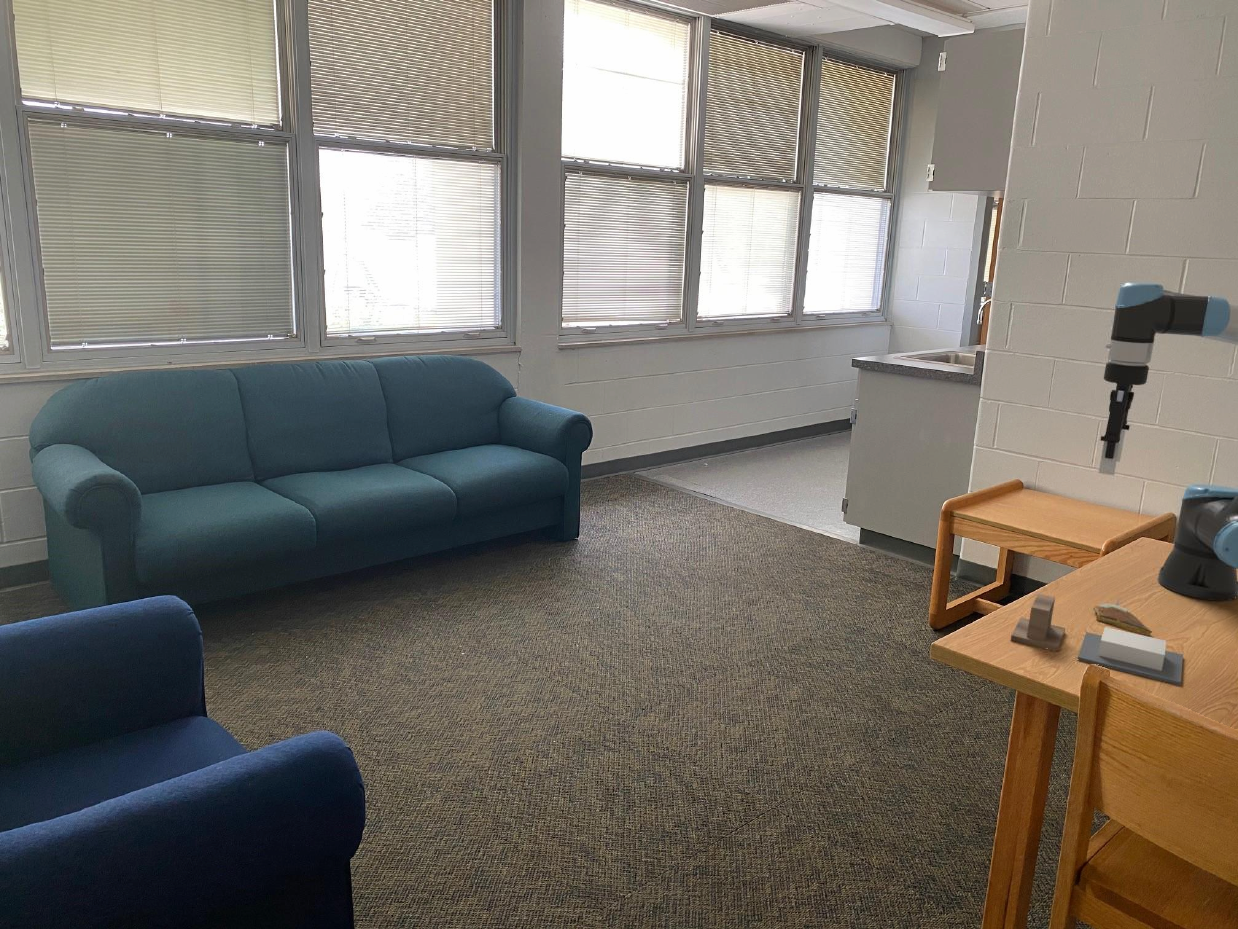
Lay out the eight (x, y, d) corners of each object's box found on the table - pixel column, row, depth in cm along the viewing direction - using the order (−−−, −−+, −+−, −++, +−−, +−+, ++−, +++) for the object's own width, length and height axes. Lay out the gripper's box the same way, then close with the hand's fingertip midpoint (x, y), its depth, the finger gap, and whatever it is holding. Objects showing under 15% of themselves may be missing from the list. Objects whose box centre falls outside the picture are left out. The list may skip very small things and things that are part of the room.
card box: (1163, 656, 168) (1166, 641, 167) (1161, 670, 162) (1164, 655, 161) (1102, 641, 173) (1104, 626, 172) (1098, 655, 167) (1100, 640, 166)
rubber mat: (1077, 660, 166) (1077, 657, 166) (1085, 634, 177) (1086, 632, 177) (1180, 685, 158) (1180, 682, 158) (1182, 657, 169) (1183, 654, 169)
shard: (1151, 639, 177) (1152, 630, 177) (1110, 636, 178) (1111, 627, 177) (1125, 615, 188) (1126, 607, 187) (1086, 613, 188) (1088, 605, 188)
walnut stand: (1020, 622, 182) (1025, 589, 180) (1064, 632, 178) (1070, 598, 176) (1010, 640, 173) (1016, 605, 172) (1057, 651, 169) (1063, 616, 168)
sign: (1136, 595, 198) (1126, 616, 186) (1136, 598, 198) (1125, 620, 186) (1109, 588, 201) (1097, 609, 189) (1109, 592, 201) (1096, 613, 189)
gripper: (1112, 354, 194) (1095, 452, 200) (1100, 367, 174) (1081, 476, 179) (1152, 358, 191) (1134, 458, 196) (1145, 372, 170) (1125, 483, 175)
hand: (1109, 467), depth 188 cm, fingers open, 13 cm apart
